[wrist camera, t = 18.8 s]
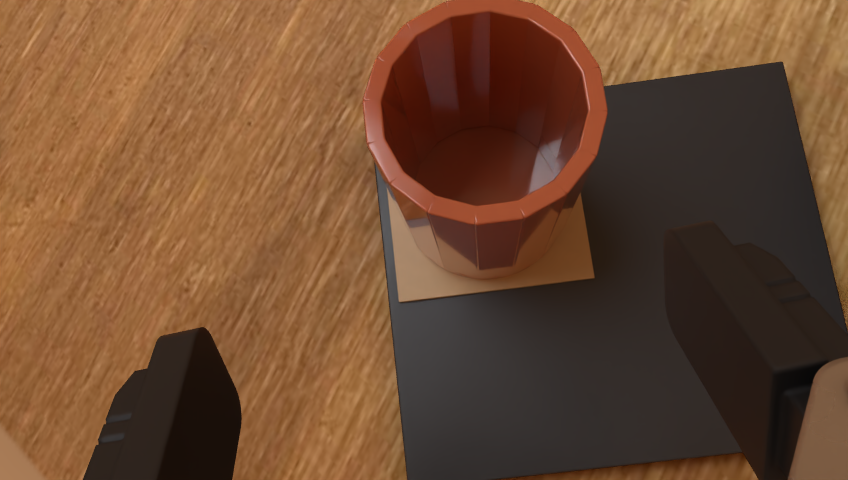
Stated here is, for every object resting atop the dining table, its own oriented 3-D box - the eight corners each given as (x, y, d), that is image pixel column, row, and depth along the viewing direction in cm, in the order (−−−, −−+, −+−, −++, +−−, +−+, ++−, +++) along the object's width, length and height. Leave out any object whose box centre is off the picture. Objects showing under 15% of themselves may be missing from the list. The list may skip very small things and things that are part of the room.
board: (410, 485, 27) (407, 490, 26) (373, 127, 30) (369, 116, 29) (859, 436, 26) (877, 438, 25) (773, 72, 29) (785, 58, 28)
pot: (411, 289, 27) (375, 237, 18) (394, 132, 28) (353, 13, 20) (579, 268, 27) (625, 205, 18) (553, 110, 28) (585, -21, 19)
